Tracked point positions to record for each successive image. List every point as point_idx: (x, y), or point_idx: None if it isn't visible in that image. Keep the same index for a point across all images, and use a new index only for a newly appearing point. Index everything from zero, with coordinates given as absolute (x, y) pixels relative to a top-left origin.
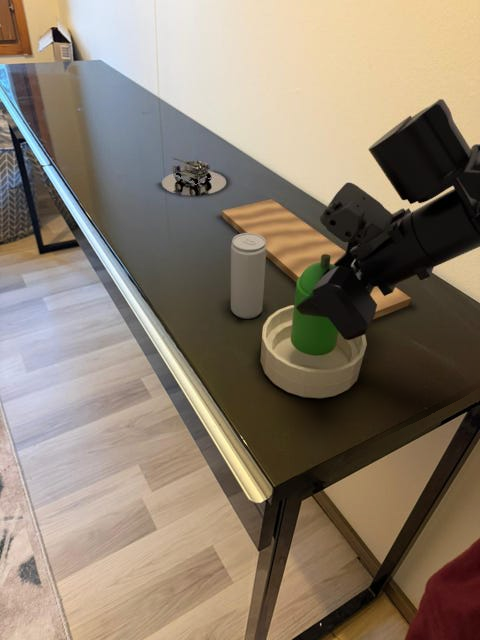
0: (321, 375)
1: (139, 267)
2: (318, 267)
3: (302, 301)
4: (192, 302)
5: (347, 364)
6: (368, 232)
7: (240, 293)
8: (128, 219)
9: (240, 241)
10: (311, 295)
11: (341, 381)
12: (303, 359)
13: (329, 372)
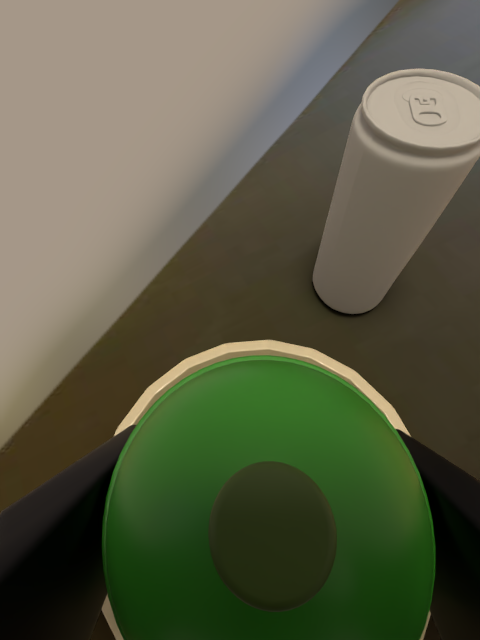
0: None
1: (336, 93)
2: (221, 466)
3: (119, 447)
4: (304, 196)
5: None
6: None
7: (324, 241)
8: (443, 19)
9: (407, 92)
10: (20, 512)
11: None
12: None
13: (110, 623)
